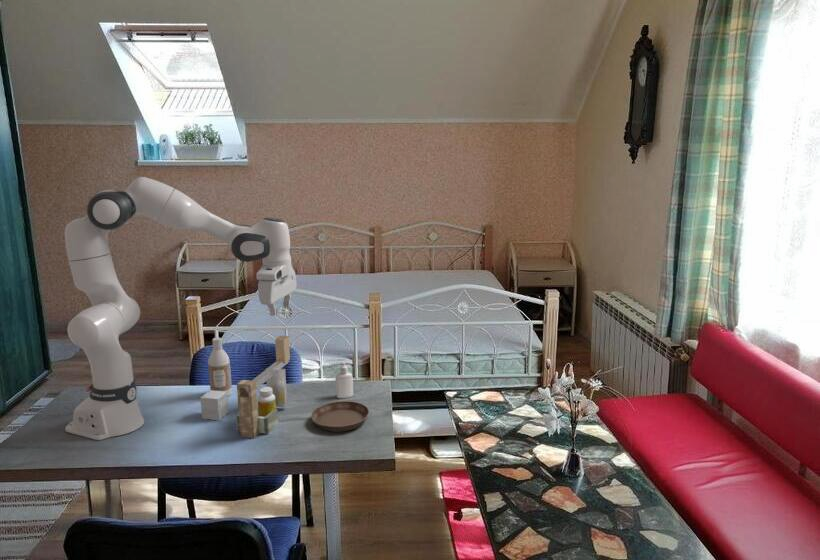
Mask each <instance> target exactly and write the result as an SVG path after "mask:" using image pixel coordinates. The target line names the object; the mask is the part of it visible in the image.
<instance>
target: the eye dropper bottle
mask: <svg viewBox="0 0 820 560" xmlns="http://www.w3.org/2000/svg"><path fill="white" fill-rule="evenodd" d="M339 368H340V369H339V370H340V371H339V373H337V374H336V375H335V392H336V393H335V394H336V395H335V396H336V398H338V399H348V398H351V397H353V396H354V378H353V377H354V376H353V374H352V373H351V372H350V371H348V370H349V369H348V365H346V363H345V362H342V365H340V367H339Z"/></svg>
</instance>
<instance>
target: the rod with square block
mask: <svg viewBox="0 0 820 560" xmlns="http://www.w3.org/2000/svg"><path fill="white" fill-rule="evenodd" d="M274 343H275V344H274V347H275V359H276V360H275V361H274V362H273V363H272V364H271V365H270V366H268V367H266V368H265V370H263V371H262V372H261V373H260V374H258V375H257V376H255V377H254V378H253V379H252V380H251V381H256V390H257V389H259V388H260V387H261V386H262V385H263V384H264V383H266V387H271V388H272V391H273V393H272V394H274V395H275V401H276V408H278V407H279V408H287V407H288V392H287V380H286V379H287V378H286V368H284V367H285V366H286V365H287V364H288V363H290V360H291V352H290V351H291V350H290V336H288V335H279V336H278V337H276V338H275V339H274ZM244 390H245V393H249V391H248V389H247V388H244Z"/></svg>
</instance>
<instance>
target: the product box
mask: <svg viewBox="0 0 820 560" xmlns="http://www.w3.org/2000/svg"><path fill="white" fill-rule="evenodd" d="M200 408H201V409H200V410H201V419H202V420H208V419H210V421H221V420H222V419H223V418H224V417H225V416H227V413H228V414H229V402H228V396H227V392H226V391H212V390H211V389H209V391H207V392H206V393H204V394H203V395H201V396H200ZM223 416H224V417H223ZM222 417H223V418H222Z"/></svg>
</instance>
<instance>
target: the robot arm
mask: <svg viewBox="0 0 820 560" xmlns="http://www.w3.org/2000/svg"><path fill="white" fill-rule="evenodd" d="M134 215H135V216H136V215H140V216H141V215H142V216H144V217H146V218H149V219H151V220H153V221H155V222H157V223H158V224H161V225H163V226H166V227H168V228H172V229H176V230H178V231H182V230H183V231H185V230H196V231H201V232H204V233H206V234H208V235H210V236H212V237H214V238H217V239H219V240H221V241H222V242H225V243H226V244H227V245H229V247H230V248H231V249H230V250H231V252H232V255H233V256H234V257H235V258H236V259H237V260H239V261H241V262H244V263H245V262H246V263H247V262H248V263H250V262H254V261H259V260H262V265H261V266H260V268H259V269H258V271H257V272H256V277H255V278H256V280H258V284H257V289H258V290H257V291H258V298H259V299H258V300H259V303H260V304H261V305H265V306H267V308H268V310H269V315H270V316H272V317H273V316H277V315H278V309H277V308H276V302H278V301H280V300H281V299H283V302H282V306H283V308H286V309H287V308H289V307H291V298H292V293H293V292H295V291H296V290H297V285H298V284H297V277H296V276H297V275H296V271H295V270H294V269H293V266H292V256H291V254H290V253H291V252H290V251H291V250H290V249H291V236H290V229H289V226H288V223H286V221H284V220H283V219H281V218H277V217H263V218H261V220H260V221H258V222H257V223H256V224H254V225H248V224H239V223H237V224H236V223H233V222H231V221H229V220H227V219H225V218H222V217H220V216H218V215H216V214H214V213H212V212H210V211H208V210H207V209H205V208H204V207H203V206H202V205H200V204H199V203H198V202H196V201H195V200H194V199H192V198H191V197H190V196H188V195H187V194H185V193H184V192H182V191H180V190H178V189H176V188H174V187H172V186H170V185H168V184H166V183H164V182H161V181H159V180H156V179H153V178H149V177H145V176H139V177H136V178H135V179H133V180H132V181H131V182H130V183H129V184H128V187H127V188H126V189H125V190H122V191H120V190H116V189H105V190H100V191H98V192H97V193H95V194H94V195H93V196H91V198H90V199H89V201H88V203H87V205H86V215H85V216H83V217H80V218H75V219H73V220H71V221H70V222H68V223H67V224H66V226H65V228H64V243H65V244H64V245H65V251H66V256H67V259H68V264H69V268H70V271H71V276H72V280H73V283H74V286H75V287H76V289H78V290H79V291H80V292H83V293H85V295H86V296H87V298H88V299H89V301H90V303H91V306H90V307H88V308H85V309H83V310H81V311H80V312H78V313H77V314H76V315H75V316H74V317H73V318H71V320H70V321H69V322H68V325H67V329H66V330H67V335H68V338H69V339H70V341H71V342H72V343H73V344H74V345H75V346H77V347H79V348H81V349H82V350H83V353H84V354H85V355H86V358H87V360H88V362H89V367H90V372H91V379H92V384H90V385H89V386H88V387H86V388H85V390H86V391H85V392H86V393H88V392H89V391H90V392H89V396H88V397H87V398H85V399H84V400H83V401H82V402H81V403H79V405H77V406H76V407H75V408H74V410H73V412H72V413H73V414H72V420H71V421H70V422H69V423H67V425H66V426H65V431H64V432H67V433H69V434H73V435H77V436H79V437H80V436H81V437H84V438H88V439H90V440H91V439H92V440H95V441H101V440H104V439H109V438H112V437H113V438H114V437H118V436H122V435H127V434H129V433H132V432H134V431H137V430H138V429H140V428H141V427H142V426H143V425H144V424H145V418H144V416H143V414H142V412H141V408H140V404H139V401H138V398H137V391H138V390H137V384H136V383H137V382H136V379H135V378H134V371H133V363H132V362H133V361H132V356H131V354H130V353H129V352H127V351H126V350H124V349H123V348H122V346H121V344H120V340H119V336H120V335H122V334H125V332H128V331H129V330H131V328H133V327H134V326H135V325H136V323H137V322H138V321H139V319H140V317H141V308H140V306H139V304H138V302H137V301H136V300H135V299H134V298H132V297H130V296H129V295H128V294H127V293H126V291H125V290H124V289H123V287H122V285H121V283H120V281H119V279H118V276H117V272H116V269H115V265H114V262H113V258H112V254H111V248H110V247H109V246H110V245H109V240H108V236H109V233H110V231H114V230H116V229H117V230H118V229H119V228H121V227H124V226H125V225H126V224H127V223H128V222H129V220H130V219H131V218H132V217H133V216H134Z"/></svg>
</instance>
